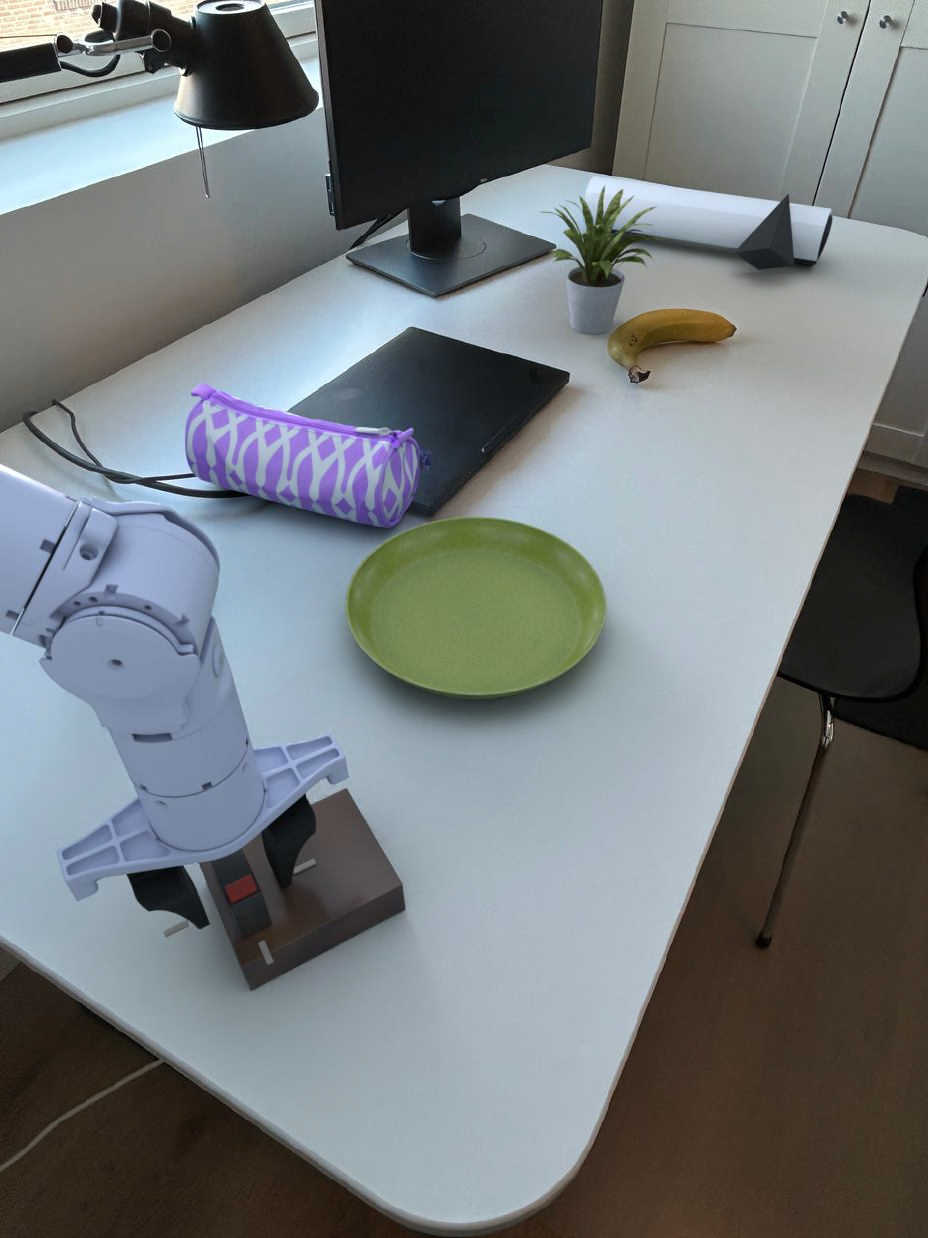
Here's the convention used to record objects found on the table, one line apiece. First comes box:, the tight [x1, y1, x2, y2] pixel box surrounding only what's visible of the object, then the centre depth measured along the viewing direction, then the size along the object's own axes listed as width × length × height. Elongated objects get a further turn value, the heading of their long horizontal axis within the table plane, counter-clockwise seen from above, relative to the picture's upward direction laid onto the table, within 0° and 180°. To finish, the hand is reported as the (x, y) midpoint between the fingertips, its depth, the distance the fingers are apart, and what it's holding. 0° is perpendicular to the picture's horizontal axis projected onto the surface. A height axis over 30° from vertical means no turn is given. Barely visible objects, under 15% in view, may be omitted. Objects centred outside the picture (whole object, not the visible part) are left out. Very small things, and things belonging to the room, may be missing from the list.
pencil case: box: [184, 382, 432, 529], centre depth 82 cm, size 22×9×10 cm, turn 71°
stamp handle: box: [209, 848, 272, 939], centre depth 50 cm, size 5×2×4 cm, turn 31°
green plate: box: [344, 516, 607, 700], centre depth 71 cm, size 21×21×3 cm
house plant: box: [541, 186, 666, 335], centre depth 105 cm, size 14×14×16 cm
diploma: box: [582, 175, 834, 271], centre depth 124 cm, size 35×9×14 cm
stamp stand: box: [162, 787, 406, 992], centre depth 53 cm, size 13×9×3 cm
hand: (240, 893), depth 51 cm, fingers open, 4 cm apart
